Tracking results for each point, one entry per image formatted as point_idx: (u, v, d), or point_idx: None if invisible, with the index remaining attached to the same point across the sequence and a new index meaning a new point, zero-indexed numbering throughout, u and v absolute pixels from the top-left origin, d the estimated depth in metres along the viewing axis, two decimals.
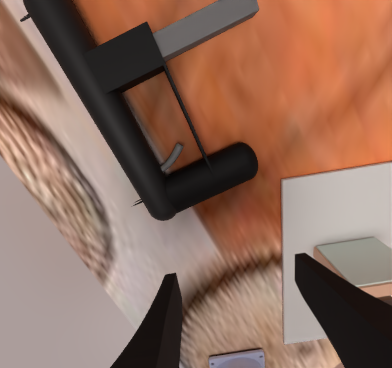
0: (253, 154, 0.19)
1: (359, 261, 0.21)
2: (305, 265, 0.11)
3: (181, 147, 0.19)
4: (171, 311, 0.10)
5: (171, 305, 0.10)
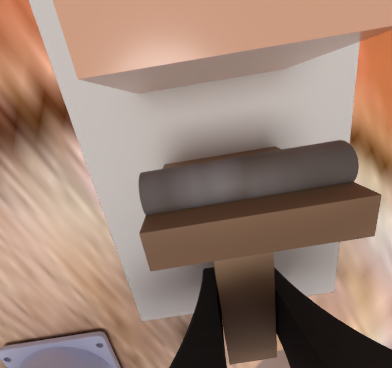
0: None
1: None
2: None
3: None
4: (218, 304, 0.10)
5: (217, 298, 0.10)
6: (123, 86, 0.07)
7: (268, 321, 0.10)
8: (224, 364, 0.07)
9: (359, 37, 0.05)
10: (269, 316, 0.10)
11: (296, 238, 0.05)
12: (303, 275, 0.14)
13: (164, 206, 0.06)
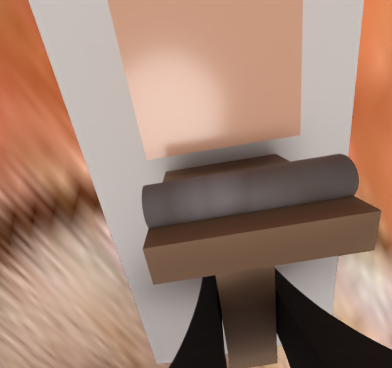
0: None
1: None
2: None
3: None
4: (218, 304, 0.10)
5: (217, 298, 0.10)
6: (132, 71, 0.08)
7: (269, 328, 0.10)
8: (224, 364, 0.07)
9: None
10: (270, 323, 0.10)
11: (297, 253, 0.06)
12: None
13: (166, 220, 0.06)
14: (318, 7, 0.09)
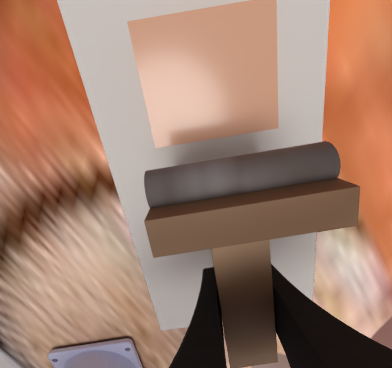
0: None
1: None
2: None
3: None
4: (218, 304, 0.10)
5: (217, 298, 0.10)
6: (145, 78, 0.11)
7: (267, 322, 0.10)
8: (224, 364, 0.07)
9: (265, 15, 0.10)
10: (268, 317, 0.10)
11: (286, 227, 0.06)
12: None
13: (166, 199, 0.07)
14: (292, 26, 0.12)
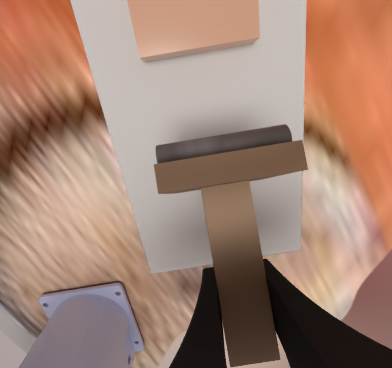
0: None
1: None
2: None
3: None
4: (218, 304, 0.10)
5: (217, 298, 0.10)
6: None
7: (263, 303, 0.11)
8: (224, 364, 0.07)
9: None
10: (263, 297, 0.11)
11: (254, 170, 0.08)
12: (275, 236, 0.19)
13: (170, 159, 0.09)
14: None
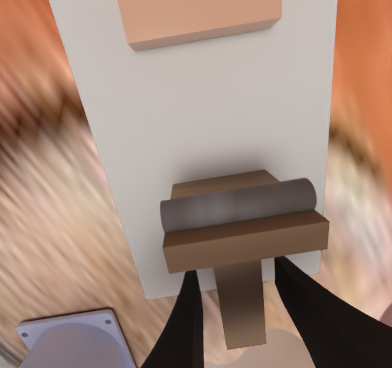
0: None
1: None
2: (282, 269, 0.11)
3: None
4: (196, 307, 0.10)
5: (195, 301, 0.10)
6: None
7: (258, 313, 0.12)
8: None
9: None
10: (258, 309, 0.12)
11: (271, 250, 0.08)
12: (291, 257, 0.16)
13: (178, 227, 0.08)
14: None
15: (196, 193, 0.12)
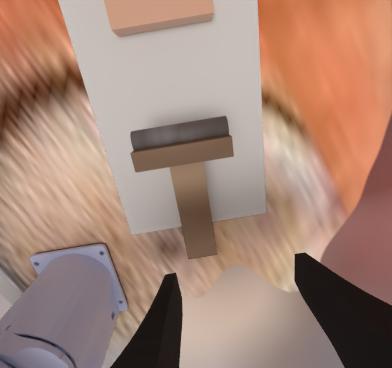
0: None
1: None
2: (305, 265, 0.11)
3: None
4: (171, 311, 0.10)
5: (171, 305, 0.10)
6: None
7: (208, 227, 0.17)
8: None
9: None
10: (208, 224, 0.17)
11: (198, 157, 0.13)
12: (242, 199, 0.21)
13: (141, 145, 0.13)
14: None
15: None
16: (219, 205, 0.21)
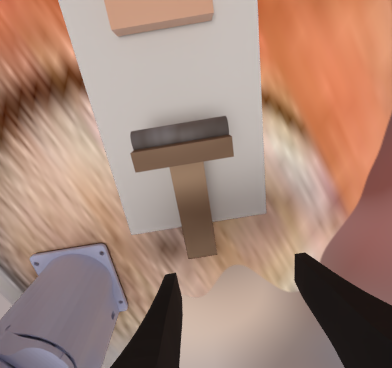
0: None
1: None
2: (305, 265, 0.11)
3: None
4: (171, 311, 0.10)
5: (171, 305, 0.10)
6: None
7: (208, 227, 0.17)
8: None
9: None
10: (208, 224, 0.17)
11: (198, 157, 0.13)
12: (242, 199, 0.21)
13: (141, 145, 0.13)
14: None
15: None
16: (219, 205, 0.21)
